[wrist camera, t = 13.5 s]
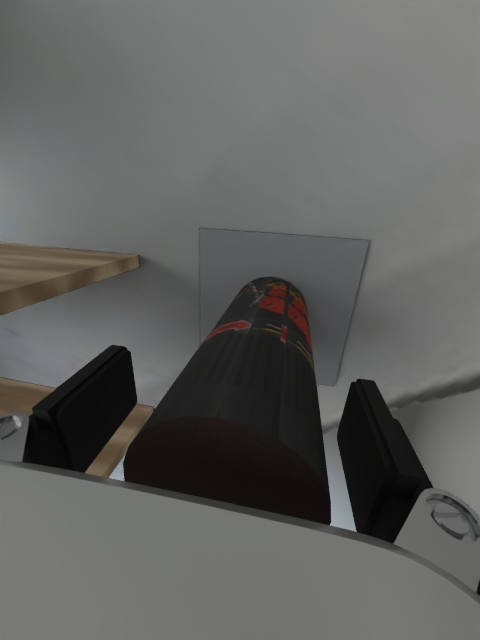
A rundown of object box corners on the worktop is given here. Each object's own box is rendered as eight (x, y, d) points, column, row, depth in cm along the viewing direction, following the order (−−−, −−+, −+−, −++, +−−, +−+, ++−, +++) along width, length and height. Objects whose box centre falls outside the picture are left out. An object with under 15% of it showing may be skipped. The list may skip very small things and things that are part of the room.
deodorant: (304, 348, 22) (318, 584, 8) (233, 342, 23) (139, 540, 9) (311, 278, 19) (348, 435, 6) (232, 275, 20) (104, 401, 7)
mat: (201, 227, 20) (199, 228, 19) (367, 240, 18) (369, 240, 18) (201, 362, 25) (200, 364, 24) (333, 383, 23) (334, 386, 22)
